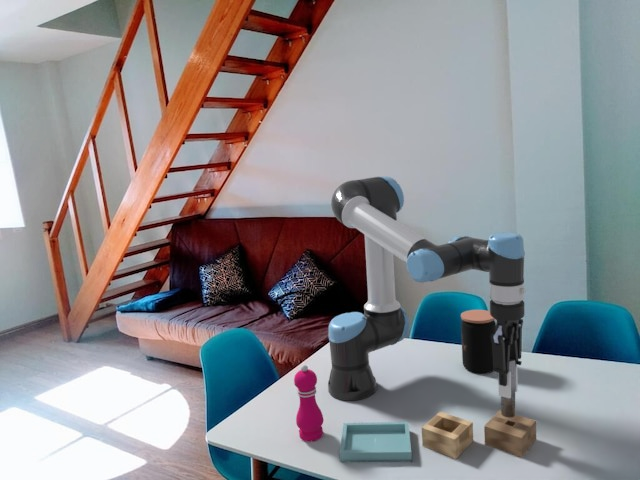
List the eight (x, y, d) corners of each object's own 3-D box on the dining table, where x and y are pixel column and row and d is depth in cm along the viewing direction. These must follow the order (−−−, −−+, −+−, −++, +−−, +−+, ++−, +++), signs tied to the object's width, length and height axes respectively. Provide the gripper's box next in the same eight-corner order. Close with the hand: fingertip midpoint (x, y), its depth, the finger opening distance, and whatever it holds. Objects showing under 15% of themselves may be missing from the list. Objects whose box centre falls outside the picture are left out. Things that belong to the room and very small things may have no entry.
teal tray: (340, 462, 119) (339, 452, 119) (344, 431, 132) (343, 423, 132) (411, 461, 117) (411, 452, 117) (408, 430, 130) (408, 421, 129)
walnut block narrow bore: (484, 444, 121) (484, 426, 120) (500, 427, 127) (499, 409, 126) (522, 457, 115) (521, 438, 114) (536, 439, 121) (535, 420, 120)
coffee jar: (469, 358, 169) (467, 308, 166) (501, 363, 163) (499, 311, 159) (458, 371, 160) (455, 318, 157) (491, 377, 154) (489, 322, 151)
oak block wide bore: (422, 445, 123) (421, 427, 122) (440, 429, 129) (440, 411, 128) (455, 458, 116) (455, 439, 116) (473, 440, 123) (472, 422, 122)
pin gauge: (499, 414, 120) (498, 361, 117) (504, 409, 122) (504, 356, 120) (512, 419, 118) (511, 364, 115) (517, 413, 120) (517, 359, 117)
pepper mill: (315, 445, 127) (307, 373, 123) (292, 439, 131) (284, 368, 127) (329, 431, 133) (323, 361, 129) (307, 425, 137) (300, 357, 133)
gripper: (508, 313, 106) (509, 412, 111) (536, 292, 118) (536, 383, 122) (475, 307, 111) (478, 402, 116) (505, 288, 123) (506, 375, 127)
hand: (508, 392), depth 119 cm, fingers closed on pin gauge, 3 cm apart
